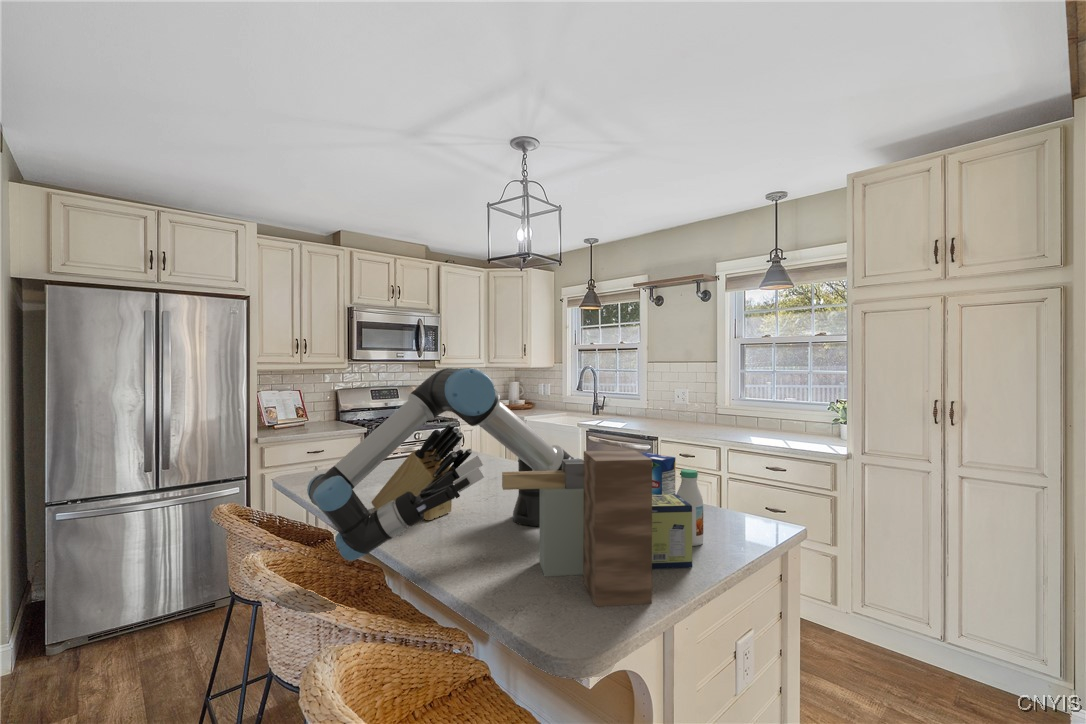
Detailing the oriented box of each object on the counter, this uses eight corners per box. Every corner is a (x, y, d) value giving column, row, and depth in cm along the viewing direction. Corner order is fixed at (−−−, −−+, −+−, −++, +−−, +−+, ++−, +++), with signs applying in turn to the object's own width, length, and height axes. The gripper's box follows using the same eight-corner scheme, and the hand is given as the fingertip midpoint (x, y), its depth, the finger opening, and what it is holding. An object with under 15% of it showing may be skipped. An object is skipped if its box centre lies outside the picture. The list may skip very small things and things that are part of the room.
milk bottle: (688, 548, 139) (688, 474, 139) (669, 539, 145) (669, 469, 145) (709, 543, 142) (709, 471, 142) (689, 535, 149) (689, 466, 149)
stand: (583, 581, 117) (583, 451, 117) (634, 579, 119) (634, 449, 119) (595, 606, 105) (596, 461, 105) (651, 603, 107) (652, 459, 107)
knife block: (452, 527, 156) (452, 425, 156) (370, 510, 173) (370, 419, 173) (474, 517, 166) (475, 422, 166) (394, 502, 183) (395, 416, 183)
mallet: (501, 485, 126) (501, 460, 126) (581, 482, 129) (581, 458, 129) (503, 491, 120) (503, 465, 120) (586, 488, 123) (586, 463, 123)
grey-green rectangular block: (539, 561, 129) (539, 482, 129) (589, 559, 131) (590, 481, 131) (544, 576, 120) (544, 491, 120) (598, 573, 122) (598, 489, 122)
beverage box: (661, 536, 148) (661, 460, 148) (632, 526, 157) (632, 454, 157) (675, 531, 153) (675, 457, 153) (646, 522, 161) (646, 452, 161)
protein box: (621, 554, 135) (621, 495, 135) (678, 552, 136) (678, 493, 136) (631, 570, 124) (631, 506, 124) (693, 568, 125) (693, 504, 125)
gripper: (416, 511, 133) (487, 468, 135) (403, 545, 108) (490, 492, 110) (401, 486, 132) (473, 443, 135) (384, 515, 108) (472, 462, 110)
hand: (481, 465), depth 123 cm, fingers open, 13 cm apart
